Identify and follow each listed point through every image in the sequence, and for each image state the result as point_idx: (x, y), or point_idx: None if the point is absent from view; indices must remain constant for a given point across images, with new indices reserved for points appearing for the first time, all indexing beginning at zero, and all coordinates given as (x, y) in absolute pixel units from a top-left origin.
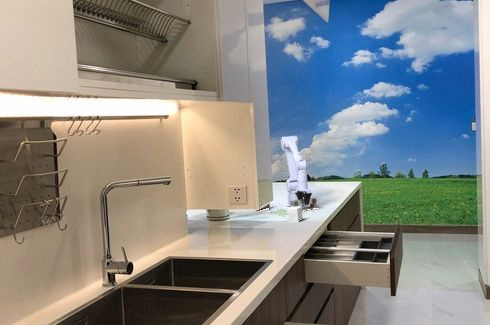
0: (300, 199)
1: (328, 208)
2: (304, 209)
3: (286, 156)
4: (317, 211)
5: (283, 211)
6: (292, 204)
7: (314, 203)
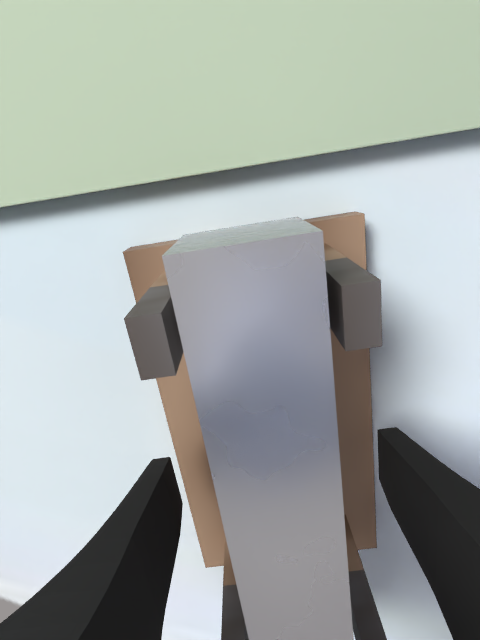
0: (312, 496)
1: (189, 618)
2: (180, 396)
3: None
4: (63, 492)
5: (267, 25)
6: (207, 235)
7: (224, 589)
